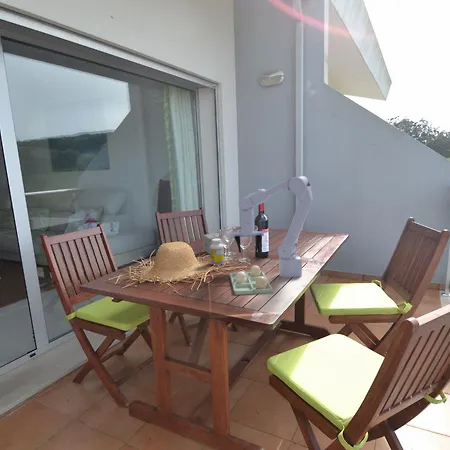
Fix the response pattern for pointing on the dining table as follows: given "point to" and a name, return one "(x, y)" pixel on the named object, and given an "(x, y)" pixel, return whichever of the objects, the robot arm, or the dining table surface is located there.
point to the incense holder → (209, 241)
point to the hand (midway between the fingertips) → (248, 251)
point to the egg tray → (249, 285)
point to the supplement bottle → (216, 252)
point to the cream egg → (241, 278)
